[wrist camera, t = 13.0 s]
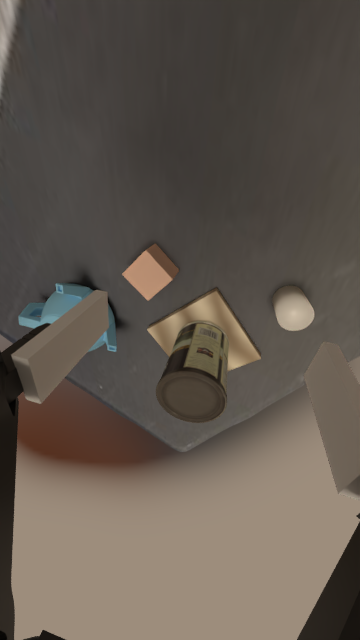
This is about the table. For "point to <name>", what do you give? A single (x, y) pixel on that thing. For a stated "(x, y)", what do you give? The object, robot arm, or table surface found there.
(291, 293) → the off-white cylinder
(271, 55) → the table surface
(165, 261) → the terracotta block
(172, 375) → the coffee can
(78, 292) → the teapot
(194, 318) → the birch board
